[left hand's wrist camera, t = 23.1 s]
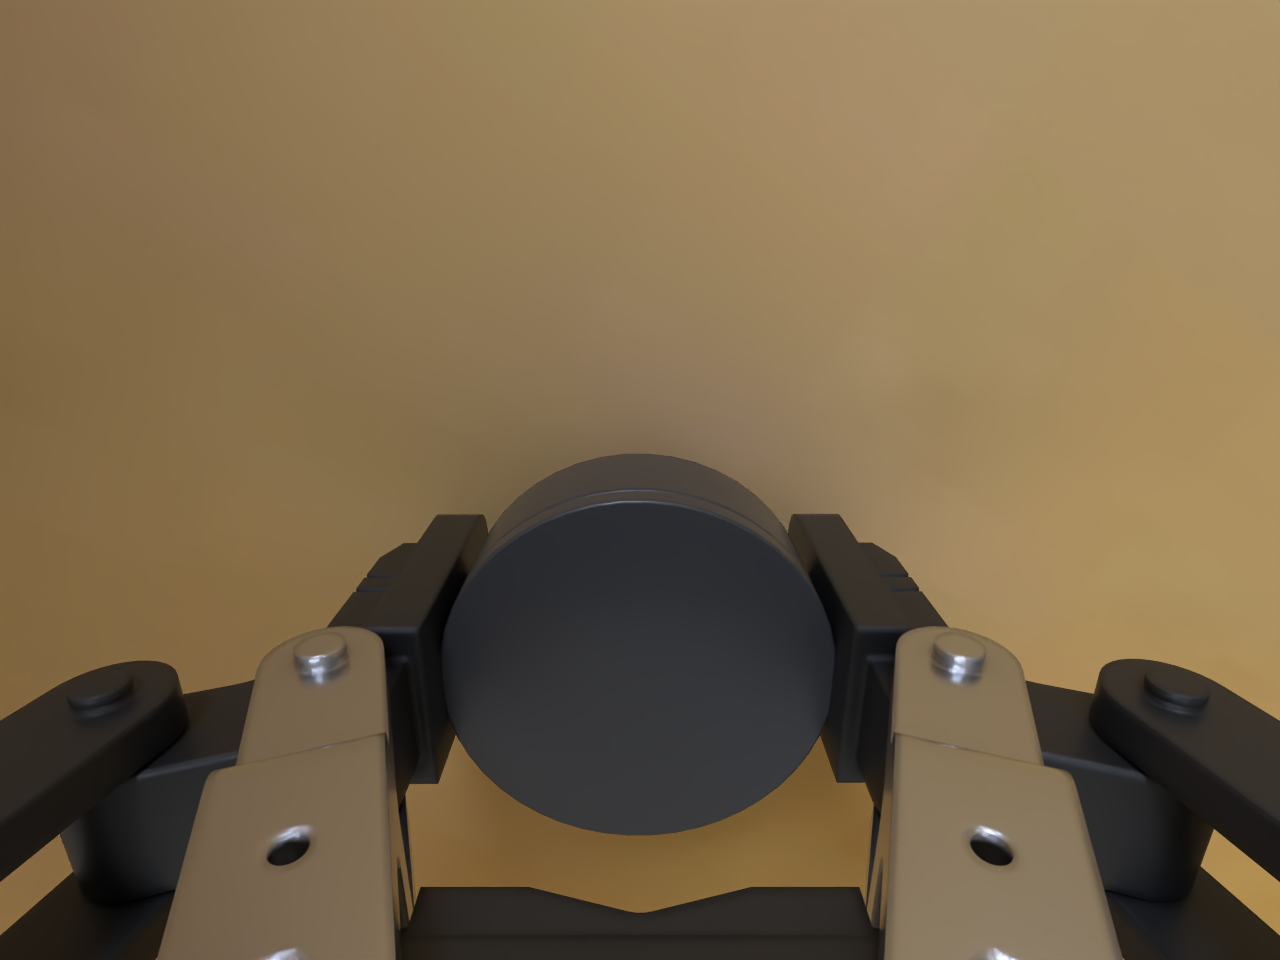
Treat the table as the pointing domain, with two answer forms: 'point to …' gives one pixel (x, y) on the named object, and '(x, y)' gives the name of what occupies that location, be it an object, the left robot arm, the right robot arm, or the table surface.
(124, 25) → the table surface
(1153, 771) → the left robot arm
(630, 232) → the table surface
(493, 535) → the lid
